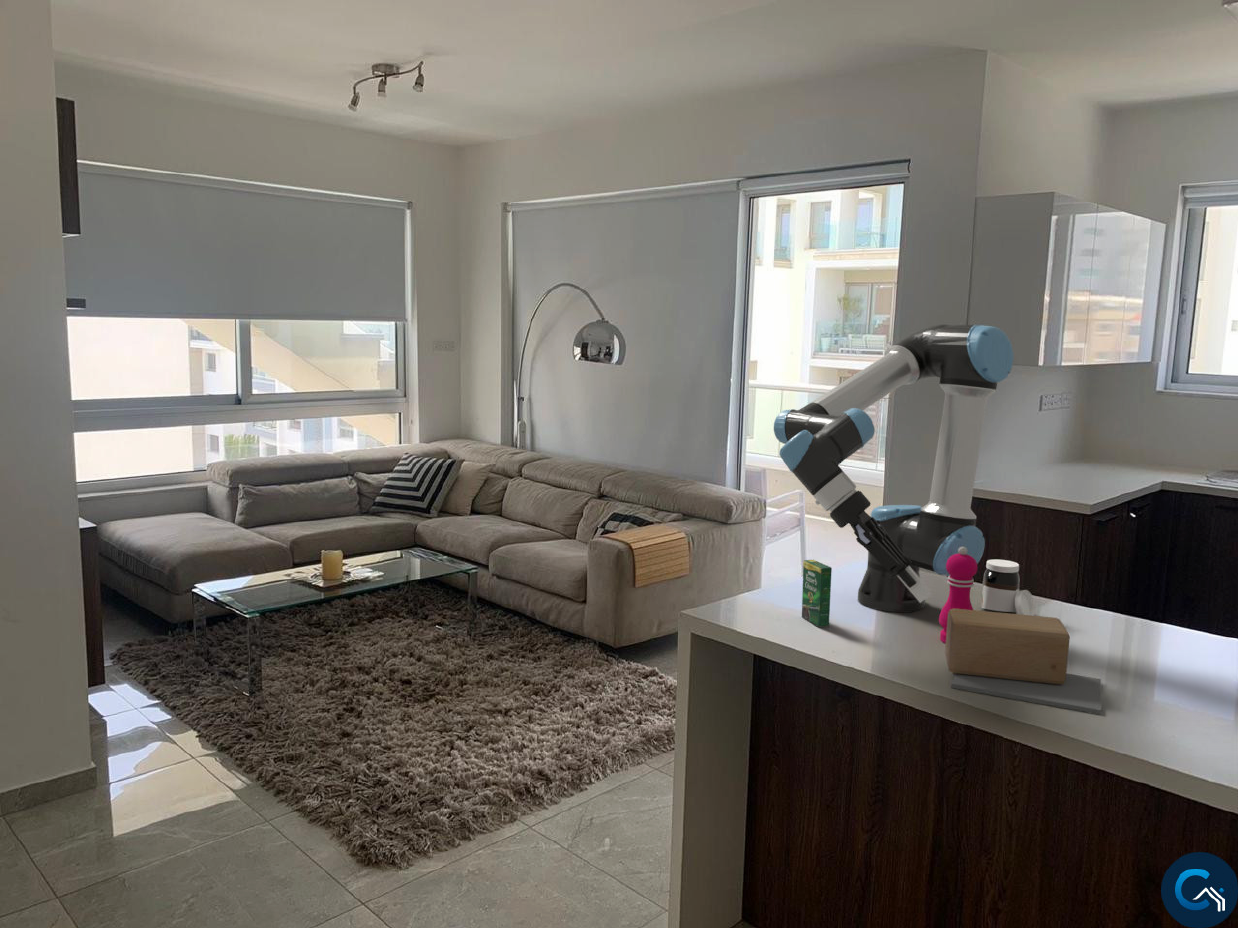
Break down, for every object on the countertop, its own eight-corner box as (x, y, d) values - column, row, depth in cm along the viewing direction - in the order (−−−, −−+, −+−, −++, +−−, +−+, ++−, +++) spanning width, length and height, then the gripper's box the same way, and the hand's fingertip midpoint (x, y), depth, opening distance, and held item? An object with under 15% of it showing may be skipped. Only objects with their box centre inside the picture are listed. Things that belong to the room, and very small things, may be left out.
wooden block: (948, 674, 172) (1066, 687, 167) (952, 621, 171) (1071, 633, 166) (944, 656, 182) (1055, 667, 177) (947, 606, 180) (1060, 616, 175)
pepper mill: (936, 644, 191) (943, 548, 188) (938, 633, 198) (945, 541, 195) (974, 649, 189) (982, 552, 186) (974, 638, 195) (982, 544, 192)
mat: (962, 659, 182) (962, 655, 182) (1100, 682, 172) (1100, 678, 172) (951, 687, 168) (951, 683, 168) (1101, 714, 158) (1101, 710, 158)
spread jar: (980, 604, 219) (984, 556, 218) (1033, 610, 215) (1037, 561, 214) (980, 619, 208) (984, 568, 207) (1035, 626, 204) (1040, 574, 203)
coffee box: (799, 616, 208) (802, 558, 206) (811, 615, 208) (814, 558, 206) (817, 628, 200) (820, 568, 198) (829, 627, 201) (832, 567, 199)
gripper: (835, 507, 188) (915, 600, 183) (820, 518, 176) (905, 618, 172) (864, 483, 185) (946, 577, 180) (850, 494, 173) (937, 594, 169)
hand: (926, 597), depth 176 cm, fingers closed
